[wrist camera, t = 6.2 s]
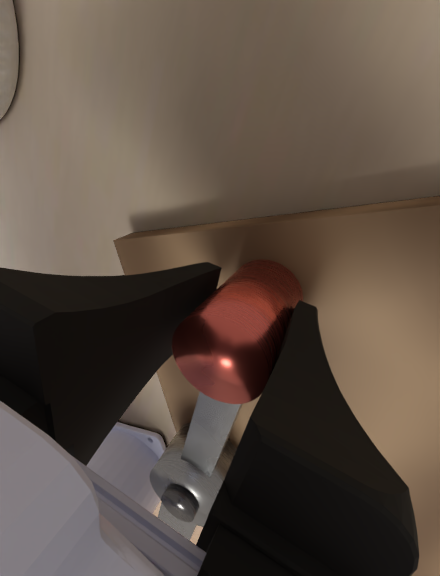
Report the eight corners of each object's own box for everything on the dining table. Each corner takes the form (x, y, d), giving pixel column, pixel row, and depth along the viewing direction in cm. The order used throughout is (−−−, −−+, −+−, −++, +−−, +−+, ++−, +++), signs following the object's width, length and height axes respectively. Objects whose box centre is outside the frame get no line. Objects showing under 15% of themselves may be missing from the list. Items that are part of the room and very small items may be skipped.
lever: (221, 507, 21) (186, 590, 17) (168, 471, 22) (124, 541, 18) (334, 283, 11) (310, 361, 7) (227, 239, 12) (158, 287, 8)
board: (208, 483, 24) (175, 549, 20) (133, 232, 16) (59, 261, 13) (445, 564, 17) (464, 692, 13) (490, 189, 9) (566, 225, 6)
